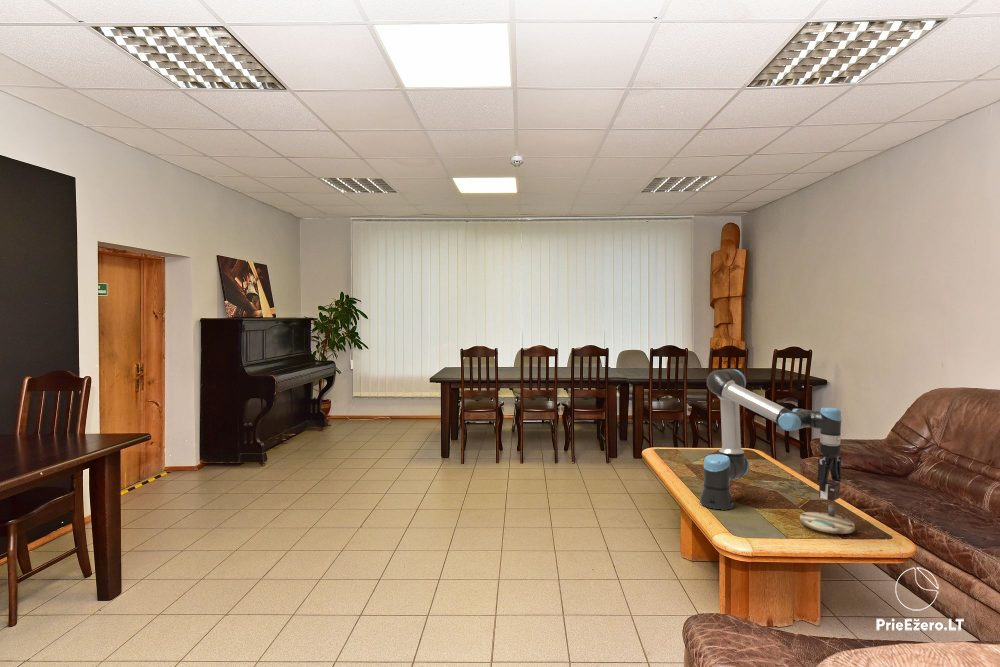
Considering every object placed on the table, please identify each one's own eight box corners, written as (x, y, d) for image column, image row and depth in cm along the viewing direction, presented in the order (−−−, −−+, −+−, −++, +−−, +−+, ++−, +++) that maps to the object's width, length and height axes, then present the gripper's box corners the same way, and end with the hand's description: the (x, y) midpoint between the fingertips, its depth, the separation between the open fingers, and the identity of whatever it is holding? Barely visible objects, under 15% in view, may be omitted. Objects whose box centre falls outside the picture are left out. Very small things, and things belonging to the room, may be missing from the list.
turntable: (848, 537, 218) (848, 521, 218) (793, 524, 232) (793, 509, 232) (859, 524, 232) (859, 509, 232) (807, 513, 246) (807, 498, 246)
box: (818, 497, 234) (818, 480, 234) (824, 494, 237) (824, 478, 237) (834, 501, 229) (834, 484, 229) (839, 498, 233) (840, 481, 233)
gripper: (825, 448, 225) (824, 503, 225) (852, 443, 234) (851, 496, 235) (807, 444, 231) (806, 498, 232) (834, 440, 241) (833, 491, 241)
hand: (829, 497), depth 233 cm, fingers closed on box, 7 cm apart
